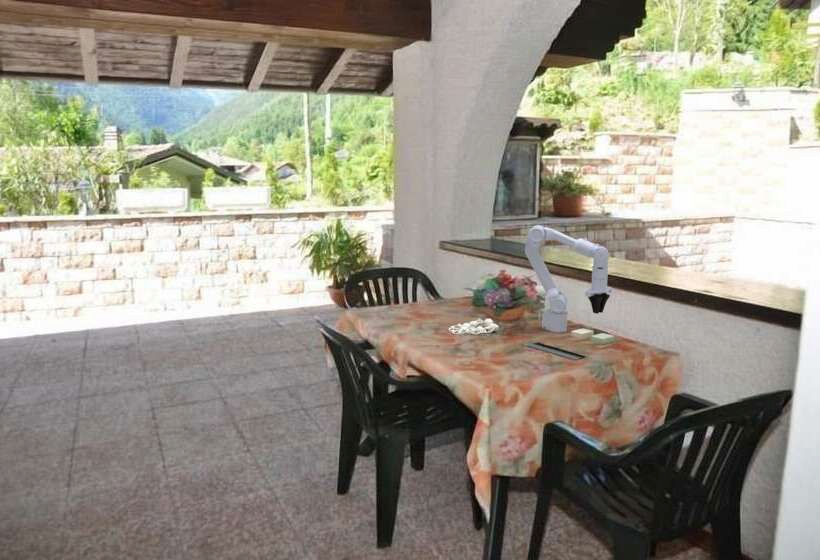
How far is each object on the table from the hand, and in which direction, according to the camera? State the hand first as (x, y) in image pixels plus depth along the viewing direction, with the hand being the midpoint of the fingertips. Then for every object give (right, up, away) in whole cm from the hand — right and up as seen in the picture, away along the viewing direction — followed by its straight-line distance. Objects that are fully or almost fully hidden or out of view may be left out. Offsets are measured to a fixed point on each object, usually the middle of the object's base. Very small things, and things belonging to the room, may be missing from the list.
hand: (597, 312), depth 230 cm
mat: (-18, -12, -16) cm, 27 cm away
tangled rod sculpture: (-46, -9, +9) cm, 48 cm away
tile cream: (-7, -9, -4) cm, 12 cm away
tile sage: (-2, -10, -11) cm, 15 cm away
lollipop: (-17, -5, +29) cm, 34 cm away
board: (-6, -11, -7) cm, 14 cm away
